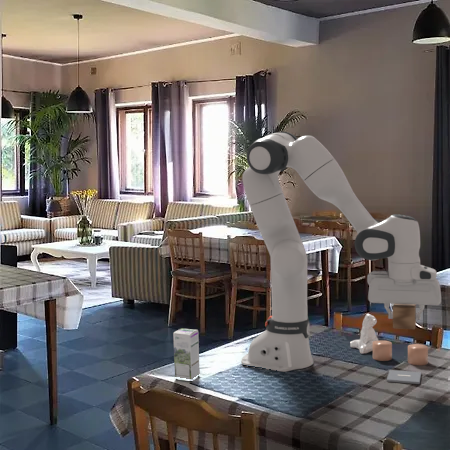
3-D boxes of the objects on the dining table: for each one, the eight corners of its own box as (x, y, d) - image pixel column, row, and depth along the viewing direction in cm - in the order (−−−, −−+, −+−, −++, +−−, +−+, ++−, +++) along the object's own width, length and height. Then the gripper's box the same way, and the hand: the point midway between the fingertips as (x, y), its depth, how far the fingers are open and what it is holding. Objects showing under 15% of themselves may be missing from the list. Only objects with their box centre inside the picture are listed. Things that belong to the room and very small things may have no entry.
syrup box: (200, 376, 202) (199, 329, 201) (191, 382, 197) (189, 333, 196) (183, 374, 205) (182, 327, 203) (174, 380, 199) (172, 332, 198)
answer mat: (386, 381, 194) (386, 379, 194) (389, 371, 202) (389, 369, 202) (419, 384, 191) (419, 381, 191) (421, 374, 199) (421, 371, 199)
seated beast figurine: (348, 346, 230) (348, 311, 229) (371, 344, 232) (371, 309, 231) (361, 354, 221) (361, 318, 219) (385, 351, 223) (385, 315, 222)
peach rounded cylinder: (407, 364, 209) (407, 348, 208) (408, 359, 214) (408, 343, 214) (427, 366, 207) (427, 350, 206) (428, 360, 212) (428, 344, 212)
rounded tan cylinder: (371, 360, 214) (371, 344, 214) (373, 354, 220) (373, 339, 219) (391, 361, 212) (390, 346, 212) (392, 356, 218) (392, 340, 217)
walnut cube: (392, 328, 193) (392, 307, 193) (394, 323, 199) (394, 303, 198) (414, 329, 192) (414, 308, 191) (415, 324, 197) (415, 303, 197)
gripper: (365, 272, 194) (366, 319, 195) (441, 274, 188) (441, 323, 189) (368, 268, 200) (368, 314, 201) (441, 270, 193) (441, 317, 195)
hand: (404, 318), depth 195 cm, fingers closed on walnut cube, 6 cm apart
